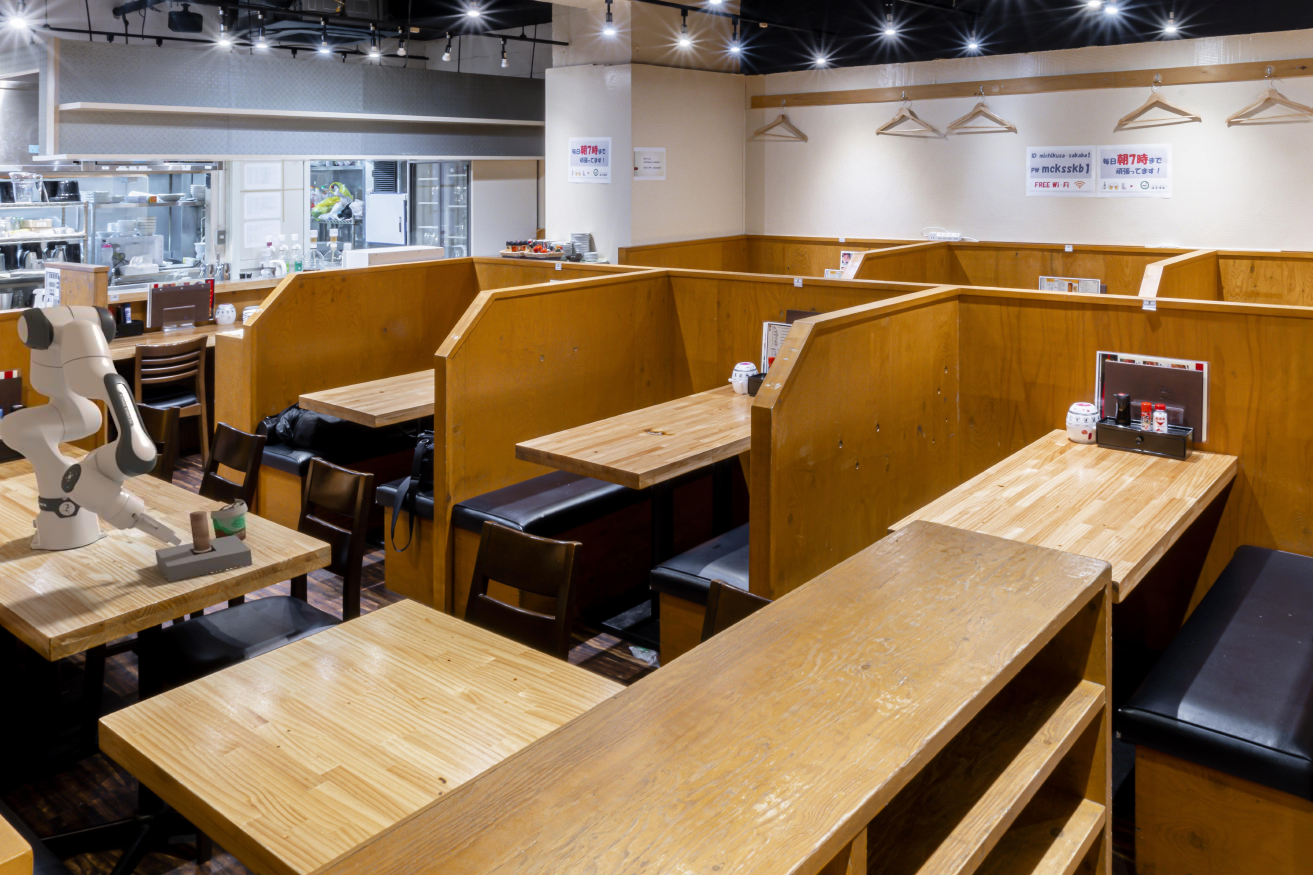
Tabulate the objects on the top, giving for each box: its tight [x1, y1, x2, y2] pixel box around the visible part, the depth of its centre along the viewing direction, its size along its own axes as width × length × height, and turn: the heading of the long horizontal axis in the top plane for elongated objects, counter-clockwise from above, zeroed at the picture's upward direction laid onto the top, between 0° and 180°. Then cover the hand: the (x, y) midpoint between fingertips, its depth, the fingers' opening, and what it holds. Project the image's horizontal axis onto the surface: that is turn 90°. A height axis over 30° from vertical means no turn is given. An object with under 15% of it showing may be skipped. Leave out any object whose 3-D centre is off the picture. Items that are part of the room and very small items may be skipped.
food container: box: [210, 498, 249, 542], centre depth 291 cm, size 12×6×10 cm, turn 168°
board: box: [155, 535, 253, 583], centre depth 273 cm, size 15×20×4 cm
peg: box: [189, 510, 211, 555], centre depth 272 cm, size 4×4×14 cm
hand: (170, 538), depth 266 cm, fingers open, 8 cm apart
